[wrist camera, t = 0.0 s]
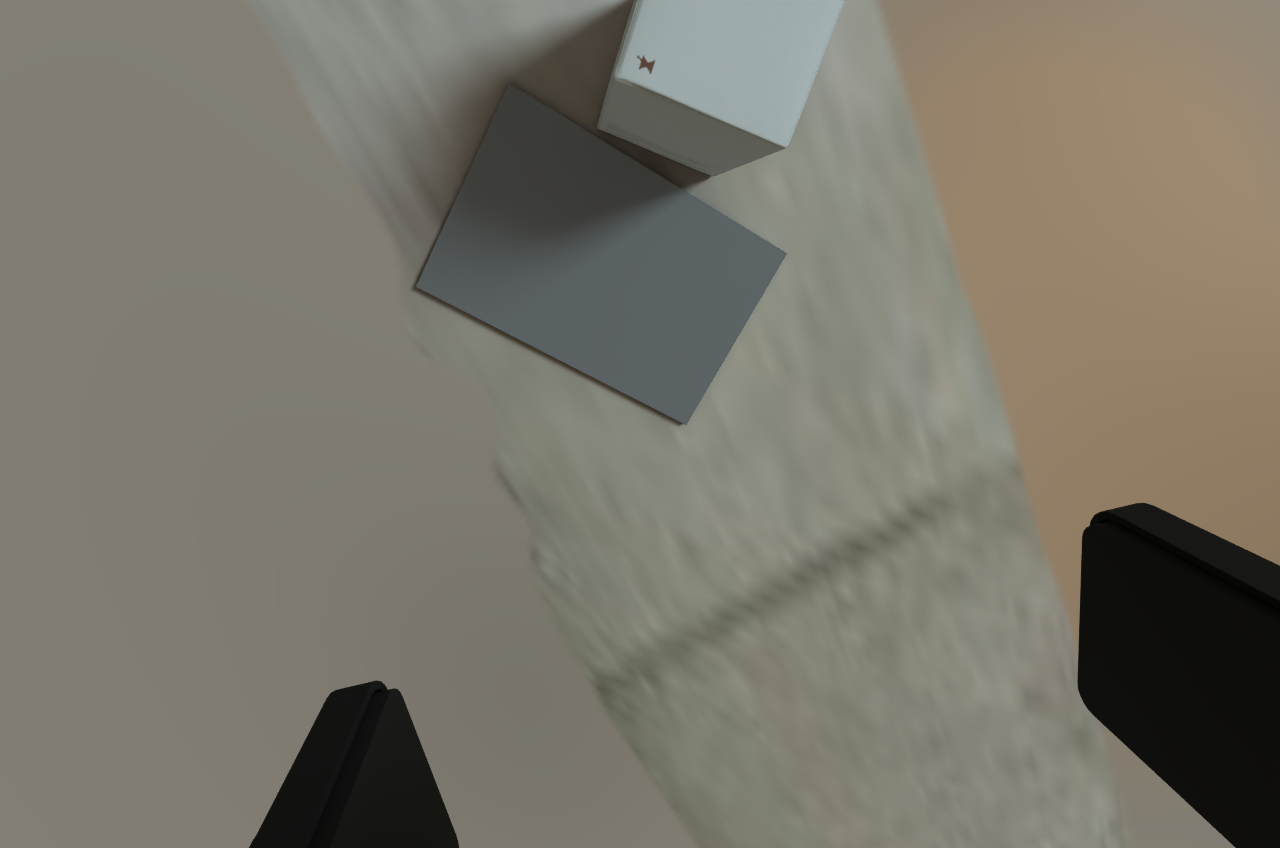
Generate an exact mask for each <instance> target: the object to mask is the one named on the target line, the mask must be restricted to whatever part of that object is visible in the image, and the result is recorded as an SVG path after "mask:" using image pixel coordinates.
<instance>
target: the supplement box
mask: <svg viewBox="0 0 1280 848" xmlns="http://www.w3.org/2000/svg"><path fill="white" fill-rule="evenodd" d="M844 2H845V0H634V2H633V5H632V8H631V11H630V14H629V18H628V21H627V24H626V27H625V31H624V34H623V38H622V41H621V44H620V48H619V51H618V54H617V57H616V61H615V64H614V67H613V71H612V74H611V78H610V81H609V84H608V88H607V92H606V95H605V99H604V103H603V106H602V110H601V114H600V118H599V121H598V124H597V128H598V129H599V130H602V131H604V132H606V133H609V134H611V135H614V136H616V137H618V138H621V139H623V140H626V141H628V142H631V143H633V144H636V145H638V146H640V147H643V148H645V149H648V150H650V151H652V152H655V153H657V154H659V155H662V156H664V157H667V158H669V159H671V160H674V161H676V162H678V163H681V164H683V165H686V166H688V167H690V168H693V169H695V170H698V171H700V172H703V173H705V174H708V175H710V176H716V175H719V174H721V173H724V172H726V171H729V170H731V169H734V168H736V167H739V166H741V165H744V164H746V163H749V162H752V161H754V160H757V159H759V158H762V157H764V156H767V155H770V154H772V153H775V152H777V151H780V150H782V149H785V148H787V147H788V145H789V142H790V140H791V138H792V135H793V133H794V130H795V128H796V126H797V123H798V121H799V118H800V116H801V113H802V111H803V108H804V105H805V103H806V100H807V98H808V95H809V92H810V90H811V87H812V85H813V82H814V79H815V77H816V74H817V72H818V69H819V67H820V64H821V62H822V59H823V56H824V54H825V51H826V49H827V46H828V44H829V41H830V38H831V36H832V33H833V31H834V28H835V25H836V23H837V20H838V18H839V15H840V12H841V10H842V7H843V5H844Z"/></svg>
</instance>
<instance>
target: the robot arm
mask: <svg viewBox="0 0 1280 848" xmlns="http://www.w3.org/2000/svg"><path fill="white" fill-rule="evenodd" d="M1078 690H1079V693H1080V696H1081V698H1082V700H1083V702H1084V704H1085V705H1086V707H1087V708H1088V710H1089V711H1090V712H1091V713H1092V714H1093V715H1094V716H1095V717H1096V718H1097V719H1098V720H1099V721H1100V722H1101V723H1102V724H1103V725H1104V726H1106V727H1107V728H1108V729H1109V730H1110V731H1111V732H1112V733H1113V734H1114V735H1115V736H1117V738H1118V739H1120V740H1121V741H1122V742H1123V743H1124V744H1125V745H1126V746H1127V747H1128V748H1129V749H1130V750H1131V751H1132V752H1134V753H1135V754H1136V755H1137V756H1138V757H1139V758H1140V759H1141V760H1142V761H1143V762H1144V763H1145V764H1147V766H1149V767H1150V768H1151V769H1152V770H1153V771H1154V772H1155V773H1156V774H1157V775H1158V776H1159V777H1161V779H1163V780H1164V781H1165V782H1166V783H1167V784H1168V785H1169V786H1170V787H1171V788H1172V789H1173V790H1175V791H1176V792H1177V793H1178V794H1179V795H1180V796H1181V797H1182V798H1183V799H1184V800H1185V801H1186V802H1187V803H1188V804H1189V805H1191V807H1193V808H1194V809H1195V810H1196V811H1197V812H1198V813H1199V814H1200V815H1201V816H1202V817H1203V818H1205V820H1207V821H1208V822H1209V823H1210V824H1211V825H1212V826H1213V827H1214V828H1215V829H1216V830H1217V831H1218V832H1219V833H1221V834H1222V835H1223V836H1224V837H1225V838H1226V839H1227V840H1228V841H1229V842H1230V843H1231V844H1232V845H1233V846H1234V847H1236V848H1280V566H1279V565H1277V564H1275V563H1273V562H1271V561H1268V560H1267V559H1264V558H1262V557H1260V556H1258V555H1256V554H1254V553H1252V552H1250V551H1248V550H1245V549H1243V548H1241V547H1239V546H1237V545H1235V544H1233V543H1231V542H1229V541H1227V540H1225V539H1222V538H1220V537H1218V536H1216V535H1214V534H1212V533H1210V532H1208V531H1206V530H1204V529H1201V528H1199V527H1197V526H1195V525H1193V524H1191V523H1189V522H1186V521H1185V520H1182V519H1180V518H1178V517H1176V516H1174V515H1172V514H1170V513H1168V512H1166V511H1164V510H1161V509H1159V508H1157V507H1155V506H1153V505H1150V504H1146V503H1136V504H1132V505H1128V506H1124V507H1119V508H1115V509H1111V510H1106V511H1102V512H1099V513H1097V514H1095V515H1094V517H1093V518H1092V520H1091V522H1090V526H1089V527H1087V528H1086V529H1085V530H1084V532H1083V536H1082V560H1081V591H1080V623H1079V654H1078ZM249 848H459V844H458V840H457V836H456V833H455V831H454V828H453V826H452V823H451V820H450V818H449V815H448V813H447V810H446V807H445V805H444V802H443V800H442V797H441V795H440V792H439V789H438V787H437V784H436V782H435V779H434V777H433V774H432V771H431V769H430V766H429V764H428V761H427V758H426V756H425V753H424V751H423V748H422V745H421V743H420V740H419V738H418V736H417V733H416V730H415V727H414V725H413V722H412V720H411V717H410V715H409V712H408V709H407V707H406V704H405V701H404V699H403V697H402V695H401V693H400V691H399V690H398V689H390V690H387V688H386V686H385V685H384V684H383V683H382V682H381V681H373V682H368V683H364V684H360V685H356V686H351V687H347V688H343V689H339V690H335V691H333V692H331V693H330V695H329V696H328V698H327V699H326V701H325V703H324V705H323V707H322V709H321V711H320V713H319V715H318V717H317V718H316V720H315V723H314V724H313V726H312V728H311V730H310V732H309V734H308V736H307V738H306V740H305V742H304V744H303V746H302V748H301V749H300V752H299V753H298V755H297V757H296V759H295V761H294V763H293V765H292V767H291V769H290V771H289V773H288V775H287V777H286V779H285V781H284V783H283V784H282V787H281V788H280V790H279V792H278V794H277V796H276V798H275V800H274V802H273V804H272V806H271V808H270V810H269V812H268V814H267V816H266V818H265V819H264V822H263V823H262V825H261V827H260V829H259V831H258V833H257V835H256V837H255V838H254V840H253V841H252V843H251V845H250V847H249Z"/></svg>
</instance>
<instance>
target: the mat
mask: <svg viewBox="0 0 1280 848" xmlns="http://www.w3.org/2000/svg"><path fill="white" fill-rule="evenodd" d="M786 254H787V253H785V252H784V251H782V250H781V249H779V248H777V247H776V246H774V245H772V244H771V243H769V242H767V241H766V240H764V239H763V238H761V237H759V236H758V235H756V234H754V233H753V232H751V231H750V230H748V229H746V228H745V227H743V226H741V225H740V224H738V223H737V222H735V221H733V220H732V219H730V218H728V217H727V216H725V215H723V214H722V213H720V212H719V211H717V210H715V209H714V208H712V207H710V206H709V205H707V204H706V203H704V202H702V201H701V200H699V199H697V198H696V197H694V196H692V195H691V194H689V193H688V192H686V191H684V190H683V189H681V188H679V187H678V186H676V185H675V184H673V183H671V182H670V181H668V180H666V179H665V178H663V177H661V176H660V175H658V174H657V173H655V172H653V171H652V170H650V169H648V168H647V167H645V166H644V165H642V164H640V163H639V162H637V161H635V160H634V159H632V158H631V157H629V156H627V155H626V154H624V153H622V152H621V151H619V150H617V149H616V148H614V147H613V146H611V145H609V144H608V143H606V142H604V141H603V140H601V139H600V138H598V137H596V136H595V135H593V134H591V133H590V132H588V131H586V130H585V129H583V128H582V127H580V126H578V125H577V124H575V123H573V122H572V121H570V120H569V119H567V118H565V117H564V116H562V115H560V114H559V113H557V112H555V111H554V110H552V109H551V108H549V107H547V106H546V105H544V104H542V103H541V102H539V101H538V100H536V99H534V98H533V97H531V96H529V95H528V94H526V93H525V92H523V91H521V90H520V89H518V88H516V87H515V86H513V85H511V84H510V83H509V84H508V86H507V88H506V90H505V93H504V95H503V97H502V99H501V101H500V103H499V106H498V108H497V110H496V112H495V114H494V117H493V119H492V121H491V123H490V125H489V128H488V130H487V132H486V134H485V136H484V139H483V141H482V143H481V145H480V147H479V150H478V152H477V154H476V156H475V158H474V160H473V163H472V165H471V167H470V169H469V171H468V174H467V176H466V178H465V180H464V182H463V185H462V187H461V189H460V191H459V193H458V196H457V198H456V200H455V202H454V204H453V206H452V209H451V211H450V213H449V215H448V217H447V220H446V222H445V224H444V226H443V228H442V231H441V233H440V235H439V237H438V239H437V242H436V244H435V246H434V248H433V250H432V253H431V255H430V257H429V259H428V261H427V263H426V266H425V268H424V270H423V272H422V274H421V277H420V279H419V281H418V283H417V285H416V287H417V288H419V289H421V290H423V291H425V292H427V293H429V294H431V295H433V296H435V297H437V298H439V299H441V300H443V301H445V302H447V303H449V304H451V305H453V306H455V307H457V308H458V309H460V310H462V311H464V312H466V313H468V314H470V315H472V316H474V317H476V318H478V319H480V320H482V321H484V322H486V323H488V324H490V325H492V326H494V327H496V328H498V329H500V330H501V331H503V332H505V333H507V334H509V335H511V336H513V337H515V338H517V339H519V340H521V341H523V342H525V343H527V344H529V345H531V346H533V347H535V348H537V349H539V350H541V351H542V352H544V353H546V354H548V355H550V356H552V357H554V358H556V359H558V360H560V361H562V362H564V363H566V364H568V365H570V366H572V367H574V368H576V369H578V370H580V371H582V372H584V373H585V374H587V375H589V376H591V377H593V378H595V379H597V380H599V381H601V382H603V383H605V384H607V385H609V386H611V387H613V388H615V389H617V390H619V391H621V392H623V393H625V394H627V395H628V396H630V397H632V398H634V399H636V400H638V401H640V402H642V403H644V404H646V405H648V406H650V407H652V408H654V409H656V410H658V411H660V412H662V413H664V414H666V415H668V416H670V417H671V418H673V419H675V420H677V421H679V422H681V423H683V424H685V425H686V424H687V423H688V421H689V419H690V418H691V416H692V414H693V413H694V411H695V409H696V407H697V406H698V404H699V402H700V401H701V399H702V397H703V395H704V394H705V392H706V390H707V389H708V387H709V385H710V384H711V382H712V380H713V378H714V377H715V375H716V373H717V372H718V370H719V368H720V367H721V365H722V363H723V361H724V360H725V358H726V356H727V355H728V353H729V351H730V350H731V348H732V346H733V344H734V343H735V341H736V339H737V338H738V336H739V334H740V332H741V331H742V329H743V327H744V326H745V324H746V322H747V321H748V319H749V317H750V315H751V314H752V312H753V310H754V309H755V307H756V305H757V304H758V302H759V300H760V298H761V297H762V295H763V293H764V292H765V290H766V288H767V286H768V285H769V283H770V281H771V280H772V278H773V276H774V275H775V273H776V271H777V269H778V268H779V266H780V264H781V263H782V261H783V259H784V258H785V256H786Z"/></svg>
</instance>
